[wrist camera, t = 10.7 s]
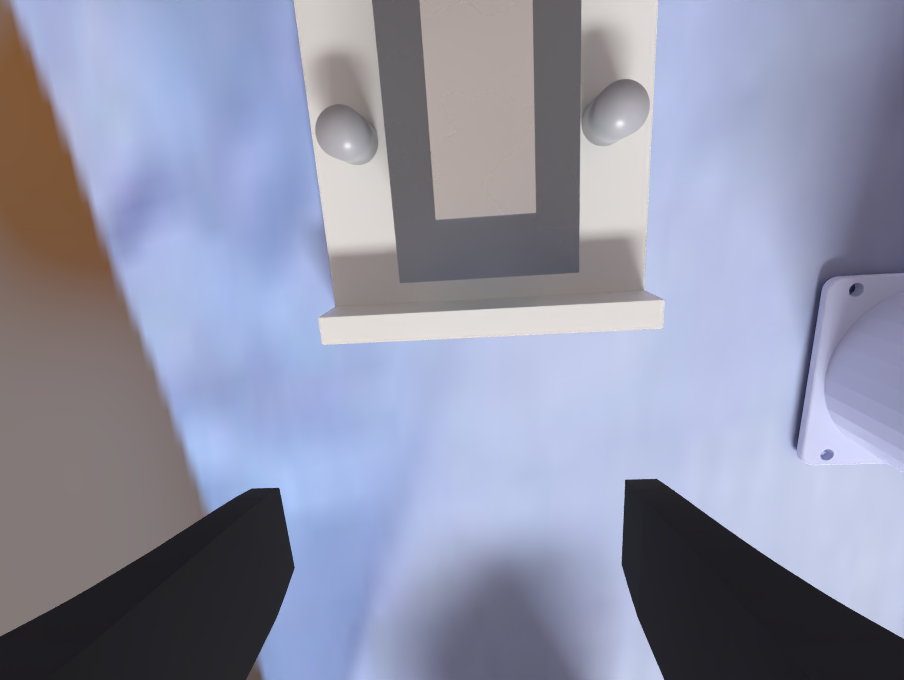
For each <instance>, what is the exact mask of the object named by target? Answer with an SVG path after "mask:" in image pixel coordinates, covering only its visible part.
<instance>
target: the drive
mask: <svg viewBox="0 0 904 680" xmlns="http://www.w3.org/2000/svg"><path fill="white" fill-rule="evenodd" d="M372 6H373V16H374V26H375V36H376V46H377V57H378V67H379V77H380V87H381V97H382V107H383V117H384V128H385V138H386V148H387V158H388V168H389V178H390V189H391V199H392V209H393V219H394V229H395V239H396V249H397V260H398V270H399V280H400V283H412V282H429V281H446V280H463V279H480V278H497V277H514V276H531V275H548V274H565V273H579V229H580V114H581V0H372Z"/></svg>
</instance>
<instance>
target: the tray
mask: <svg viewBox="0 0 904 680" xmlns="http://www.w3.org/2000/svg"><path fill="white" fill-rule="evenodd" d="M294 7H295V15H296V22H297V29H298V37H299V44H300V51H301V59H302V66H303V73H304V80H305V88H306V95H307V102H308V110H309V117H310V124H311V132H312V139H313V146H314V153H315V161H316V168H317V175H318V183H319V190H320V197H321V205H322V212H323V219H324V226H325V234H326V241H327V248H328V256H329V263H330V270H331V278H332V285H333V292H334V299H335V307H334V308H333V309H331V310H330V311H328V312H327V313H325V314H324V315H322V316H320V317H319V318H318V320H319V326H320V333H321V340H322V345H328V344H349V343H371V342H392V341H413V340H434V339H455V338H476V337H497V336H518V335H539V334H560V333H581V332H602V331H623V330H645V329H663V321H664V305H665V300H664V299H662V298H660V297H657V296H655V295H653V294H651V293H649V292H647V291H644V277H645V257H646V237H647V217H648V197H649V177H650V157H651V136H652V116H653V96H654V76H655V56H656V36H657V16H658V0H581V114H580V229H579V273H565V274H548V275H531V276H514V277H497V278H480V279H463V280H446V281H429V282H412V283H400V280H399V270H398V260H397V249H396V239H395V229H394V219H393V209H392V199H391V189H390V178H389V168H388V158H387V148H386V138H385V128H384V117H383V107H382V97H381V87H380V77H379V67H378V57H377V46H376V36H375V26H374V16H373V6H372V0H294Z"/></svg>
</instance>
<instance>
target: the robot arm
mask: <svg viewBox="0 0 904 680" xmlns="http://www.w3.org/2000/svg"><path fill="white" fill-rule="evenodd" d="M853 284H855V287H856V288H855V290H854V292H853V293H851V294H849V289H850V287H851V286H852V285H853ZM824 450H827V451H826V453H825V454H823V455H821V453H822V452H823V451H824ZM797 456H798V458H799V459H800V460H801V461H803V462H804V463H806V464H807V465H840V464H879V463H887V464H889V465H891V466H892V467H894V468H896V469H897V470H899V471H901V472H902V473H904V273H888V274H870V275H851V276H836V277H832V278H831V279H829V280H827V281H826V283H825V284H824V285H823V288H822V292H821V298H820V305H819V311H818V317H817V324H816V330H815V337H814V343H813V349H812V356H811V362H810V369H809V375H808V381H807V388H806V394H805V400H804V407H803V413H802V420H801V426H800V432H799V439H798V445H797ZM622 567H623V570H624V574H625V577H626V581H627V584H628V588H629V591H630V594H631V597H632V601H633V604H634V607H635V610H636V613H637V616H638V619H639V621H640V624H641V626H642V628H643V631H644V633H645V635H646V638H647V640H648V643H649V645H650V647H651V650H652V652H653V654H654V657H655V659H656V661H657V664H658V666H659V668H660V670H661V673H662V675H663V677H664V680H904V639H903V638H901V637H899V636H898V635H896V634H894V633H892V632H890V631H889V630H887V629H885V628H883V627H882V626H880V625H878V624H876V623H875V622H873V621H871V620H869V619H867V618H866V617H864V616H862V615H860V614H859V613H857V612H855V611H853V610H851V609H850V608H848V607H846V606H845V605H843V604H841V603H840V602H838V601H836V600H835V599H833V598H831V597H830V596H828V595H826V594H825V593H823V592H821V591H820V590H818V589H817V588H815V587H813V586H812V585H810V584H809V583H807V582H806V581H804V580H802V579H801V578H799V577H798V576H796V575H795V574H793V573H791V572H790V571H788V570H787V569H785V568H784V567H782V566H780V565H779V564H777V563H776V562H774V561H773V560H771V559H770V558H768V557H767V556H765V555H764V554H762V553H761V552H759V551H758V550H756V549H755V548H753V547H752V546H751V545H749V544H748V543H746V542H745V541H743V540H742V539H740V538H739V537H738V536H736V535H735V534H733V533H732V532H730V531H729V530H728V529H726V528H725V527H723V526H722V525H721V524H719V523H718V522H716V521H715V520H714V519H712V518H711V517H709V516H708V515H707V514H705V513H704V512H703V511H701V510H700V509H698V508H697V507H696V506H694V505H693V504H692V503H690V502H689V501H687V500H686V499H685V498H683V497H682V496H681V495H679V494H678V493H676V492H675V491H674V490H672V489H671V488H669V487H668V486H666V485H665V484H664V483H662V482H660V481H659V480H657V479H638V480H625V500H624V523H623V546H622ZM294 568H295V567H294V562H293V557H292V552H291V547H290V541H289V536H288V531H287V526H286V521H285V515H284V510H283V505H282V500H281V495H280V489H279V488H257V489H250V490H248V491H246V492H244V493H243V494H241V495H239V496H237V497H236V498H234V499H232V500H231V501H229V502H227V503H226V504H224V505H223V506H221V507H219V508H218V509H216V510H215V511H213V512H211V513H210V514H208V515H207V516H205V517H204V518H202V519H201V520H199V521H197V522H196V523H194V524H193V525H191V526H190V527H188V528H187V529H185V530H183V531H182V532H180V533H179V534H177V535H176V536H174V537H173V538H171V539H169V540H168V541H166V542H165V543H163V544H162V545H160V546H159V547H157V548H156V549H154V550H152V551H151V552H149V553H147V554H146V555H144V556H142V557H141V558H139V559H137V560H136V561H134V562H132V563H131V564H129V565H127V566H126V567H125V568H122V569H121V570H119V571H117V572H116V573H114V574H113V575H111V576H109V577H108V578H106V579H104V580H103V581H101V582H99V583H98V584H96V585H94V586H93V587H91V588H89V589H88V590H86V591H84V592H82V593H81V594H79V595H77V596H75V597H74V598H72V599H70V600H68V601H67V602H64V603H63V604H61V605H59V606H57V607H55V608H54V609H52V610H50V611H48V612H46V613H44V614H42V615H41V616H39V617H37V618H35V619H33V620H31V621H29V622H27V623H26V624H23V625H21V626H20V627H18V628H16V629H14V630H12V631H10V632H8V633H6V634H4V635H3V636H0V680H246V678H247V676H248V674H249V672H250V670H251V668H252V667H253V665H254V663H255V661H256V659H257V657H258V655H259V653H260V651H261V648H262V646H263V644H264V642H265V640H266V638H267V636H268V634H269V632H270V630H271V628H272V626H273V624H274V622H275V620H276V618H277V615H278V613H279V610H280V607H281V605H282V602H283V599H284V597H285V594H286V591H287V588H288V585H289V582H290V580H291V577H292V574H293V571H294Z"/></svg>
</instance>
